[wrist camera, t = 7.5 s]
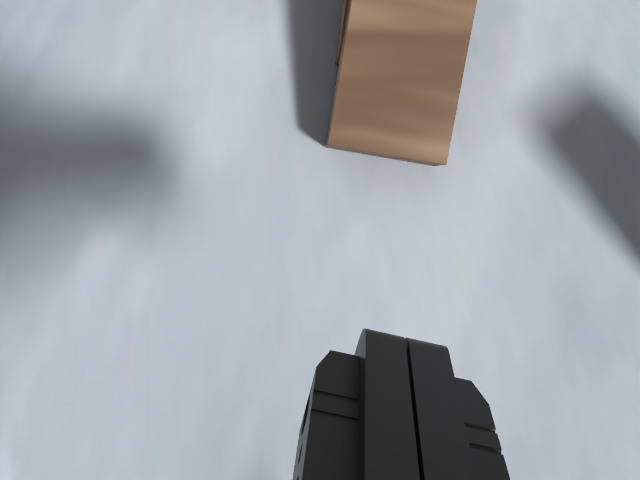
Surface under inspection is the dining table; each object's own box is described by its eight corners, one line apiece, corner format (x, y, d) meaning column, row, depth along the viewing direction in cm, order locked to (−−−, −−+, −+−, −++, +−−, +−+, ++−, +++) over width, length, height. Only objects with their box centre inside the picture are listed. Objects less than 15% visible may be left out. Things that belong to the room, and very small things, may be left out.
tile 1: (446, 164, 23) (492, -85, 22) (328, 144, 23) (370, -110, 22) (433, 165, 25) (476, -63, 24) (325, 147, 25) (363, -86, 24)
